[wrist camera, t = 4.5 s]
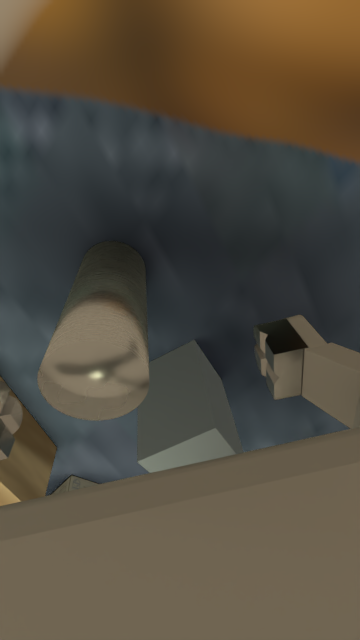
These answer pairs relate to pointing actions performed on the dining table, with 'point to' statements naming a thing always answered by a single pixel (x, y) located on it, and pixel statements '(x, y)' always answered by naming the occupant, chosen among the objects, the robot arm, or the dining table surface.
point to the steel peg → (100, 338)
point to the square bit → (184, 413)
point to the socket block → (26, 462)
